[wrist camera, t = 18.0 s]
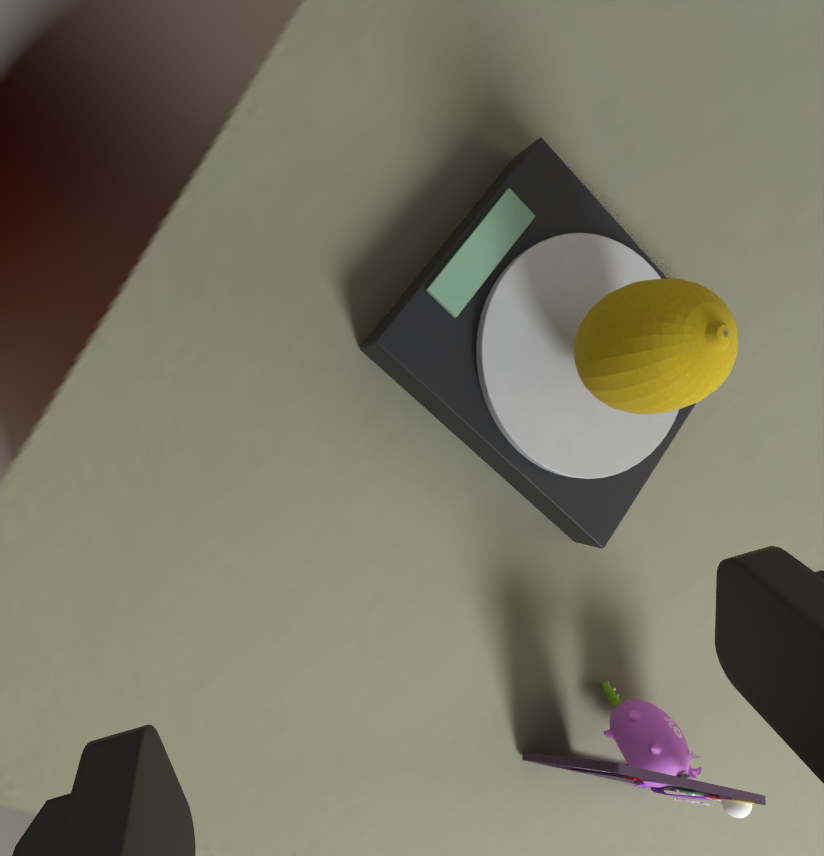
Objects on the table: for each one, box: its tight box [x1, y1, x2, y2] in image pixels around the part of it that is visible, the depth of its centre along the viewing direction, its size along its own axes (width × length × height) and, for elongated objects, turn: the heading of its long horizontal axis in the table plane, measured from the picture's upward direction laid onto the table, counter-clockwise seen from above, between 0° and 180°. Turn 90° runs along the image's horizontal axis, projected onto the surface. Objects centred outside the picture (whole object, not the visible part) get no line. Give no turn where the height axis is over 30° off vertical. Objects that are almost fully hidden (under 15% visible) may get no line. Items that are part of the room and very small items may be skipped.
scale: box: [360, 138, 696, 548], centre depth 33 cm, size 15×13×3 cm
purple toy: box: [522, 681, 766, 818], centre depth 33 cm, size 7×5×9 cm
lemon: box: [574, 278, 738, 414], centre depth 28 cm, size 6×6×8 cm
